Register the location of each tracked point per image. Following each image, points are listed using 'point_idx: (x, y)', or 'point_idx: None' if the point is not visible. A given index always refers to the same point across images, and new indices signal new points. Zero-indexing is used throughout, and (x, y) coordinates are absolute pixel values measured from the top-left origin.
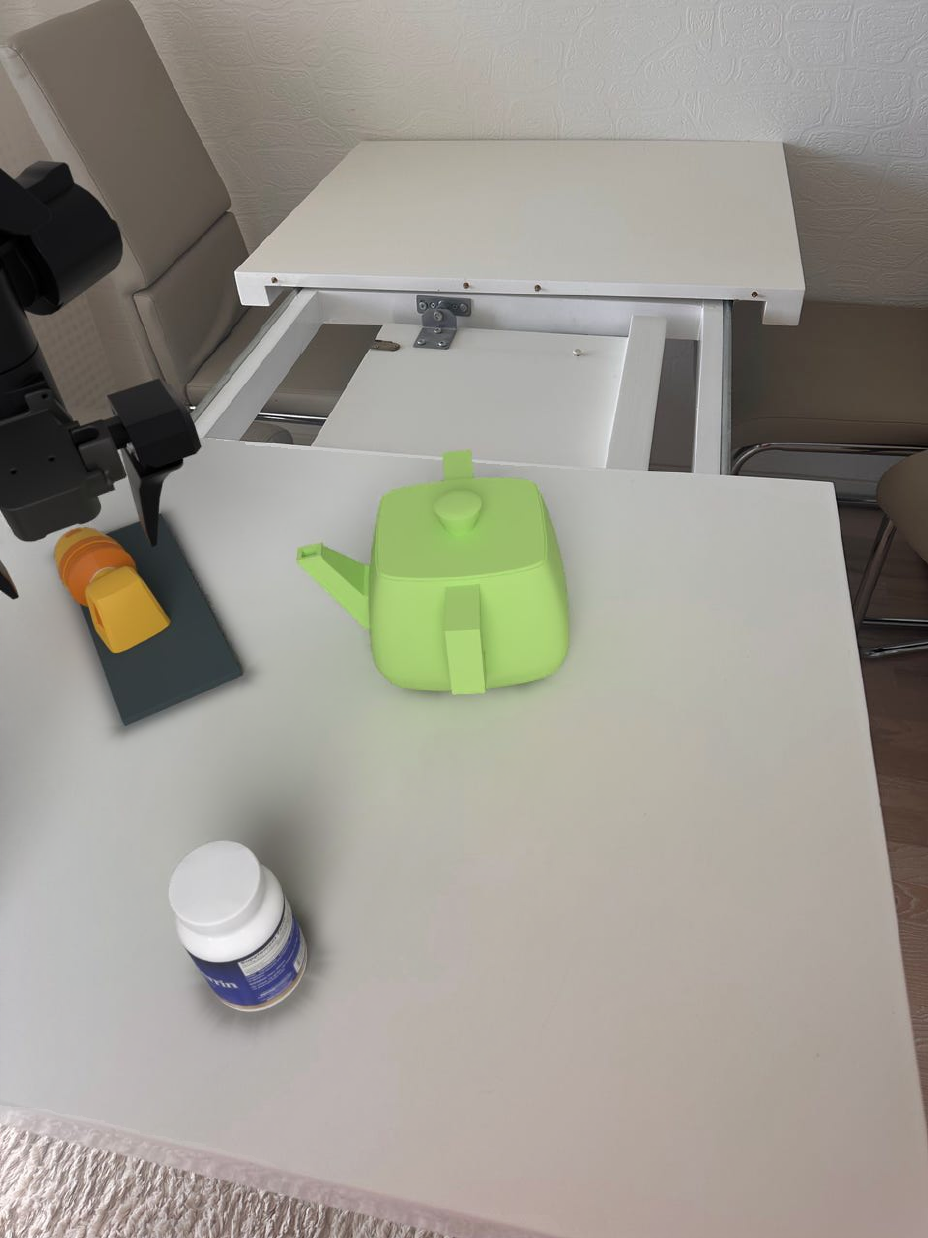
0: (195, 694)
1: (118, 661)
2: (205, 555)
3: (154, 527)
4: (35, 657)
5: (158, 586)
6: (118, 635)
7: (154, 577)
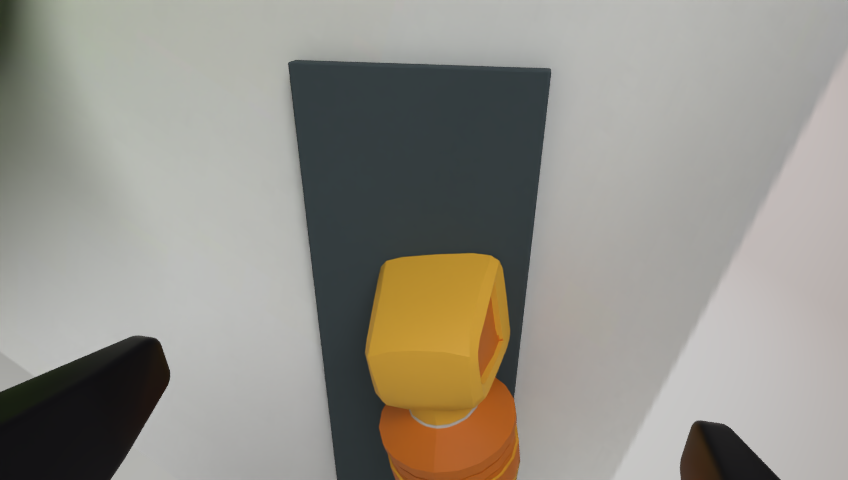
0: (391, 63)
1: (499, 237)
2: (298, 370)
3: (34, 384)
4: (630, 347)
5: None
6: (472, 278)
7: None
